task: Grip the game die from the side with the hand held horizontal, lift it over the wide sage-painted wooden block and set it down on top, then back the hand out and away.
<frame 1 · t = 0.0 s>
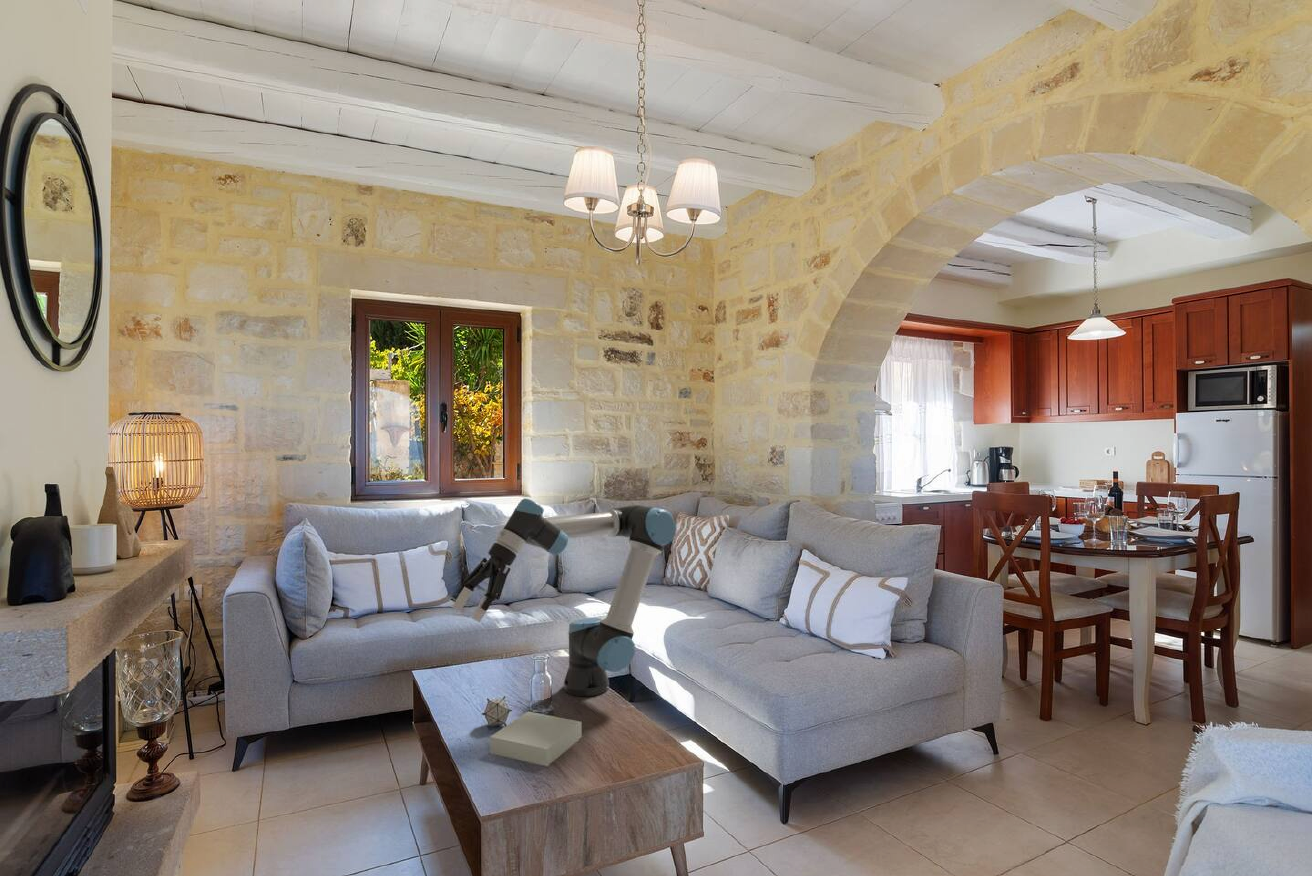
hand: (465, 614, 195), 36 cm above the table, tool tilted 35°, fingers open, 13 cm apart
base block: (537, 747, 194), on the table
game die: (496, 726, 206), on the table
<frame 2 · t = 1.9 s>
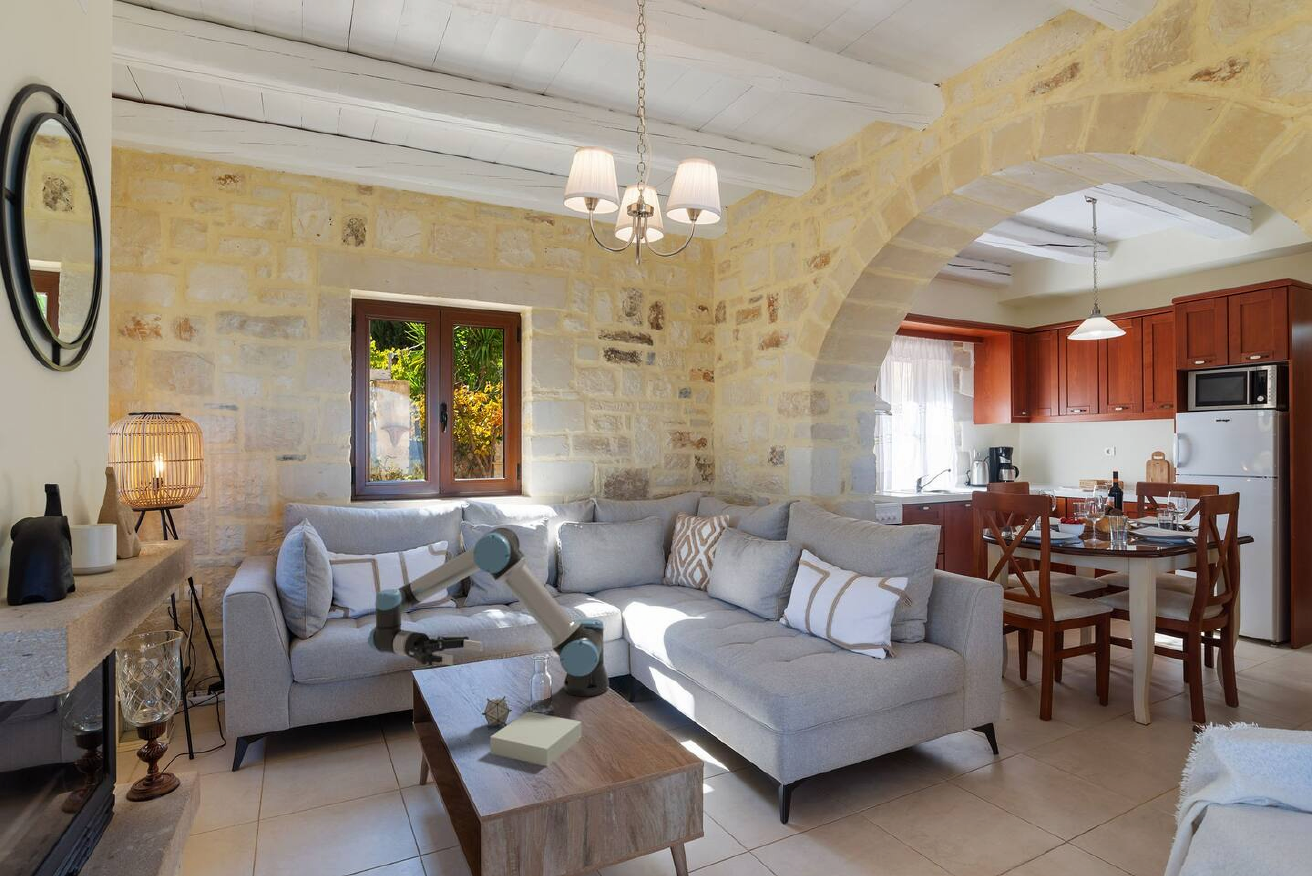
hand: (467, 653, 210), 20 cm above the table, tool horizontal, fingers open, 13 cm apart
nothing on the table moved.
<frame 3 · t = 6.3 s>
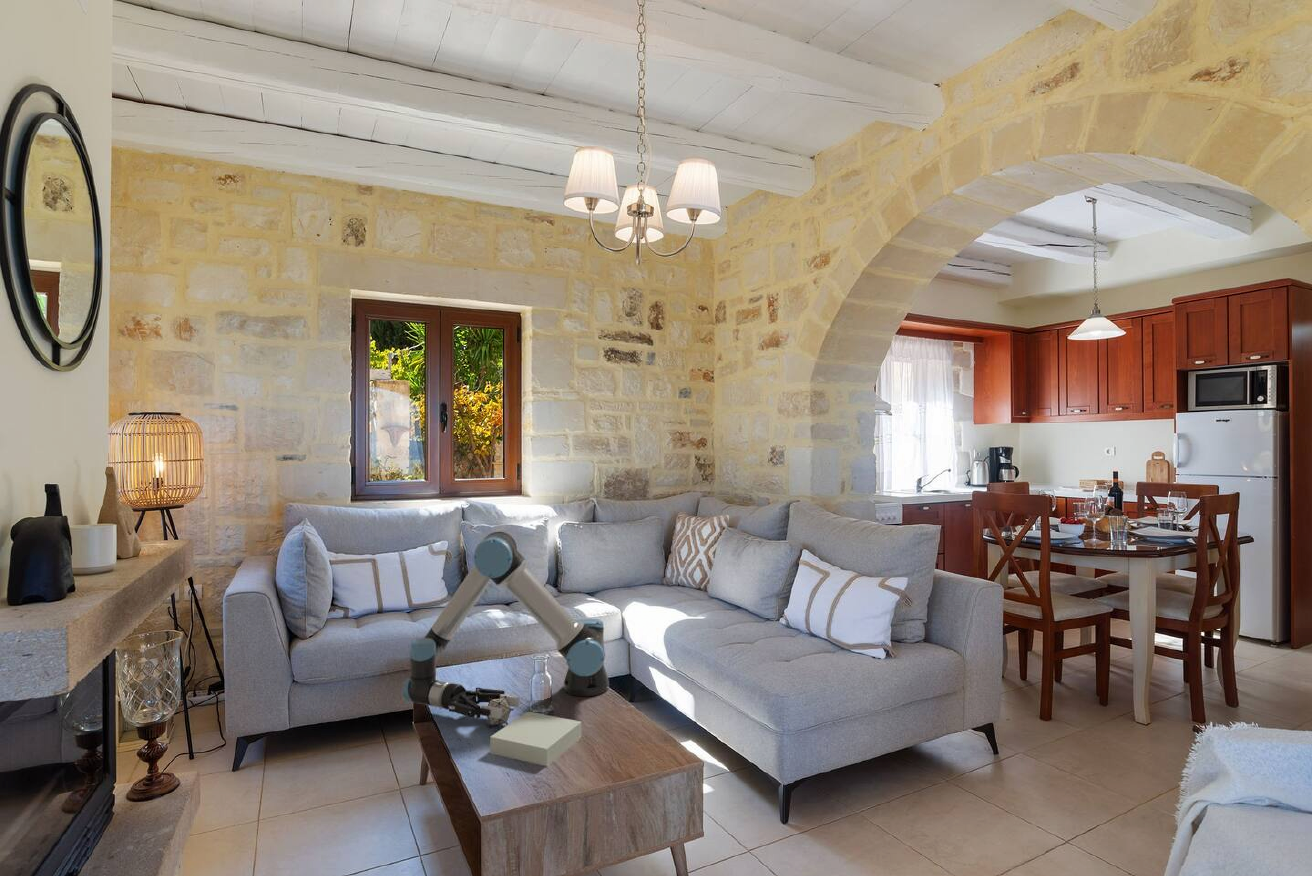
hand: (509, 708, 204), 6 cm above the table, tool horizontal, fingers closed on game die, 8 cm apart
game die: (498, 725, 207), on the table, touching gripper
everything else where it was.
when the fingers open (12 cm above the table, at t = 11.3 s): game die drops 2 cm, resting on base block.
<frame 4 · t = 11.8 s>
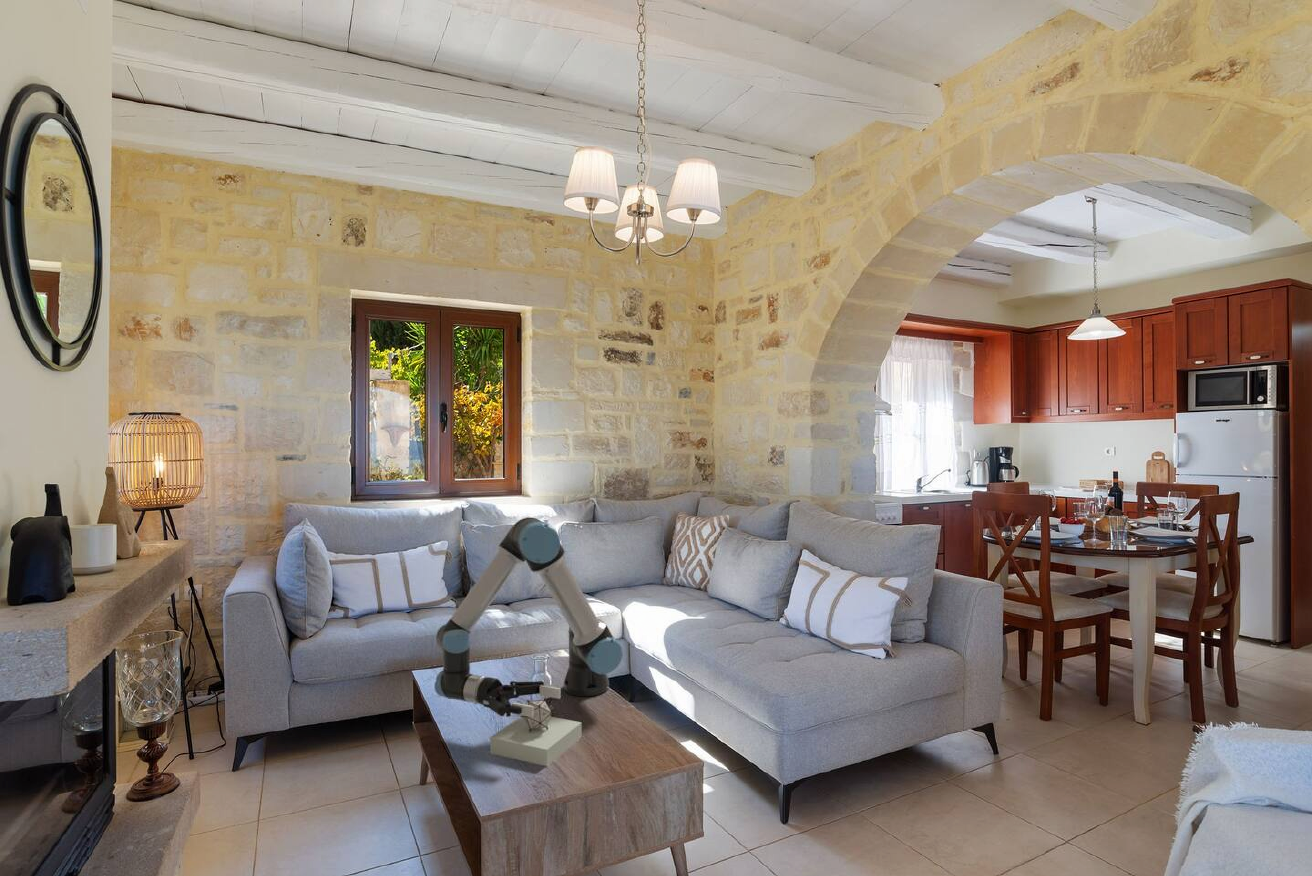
hand: (547, 702, 192), 12 cm above the table, tool horizontal, fingers open, 13 cm apart
base block: (537, 747, 194), on the table, touching game die
game die: (537, 729, 194), point 4 cm above the table, touching base block
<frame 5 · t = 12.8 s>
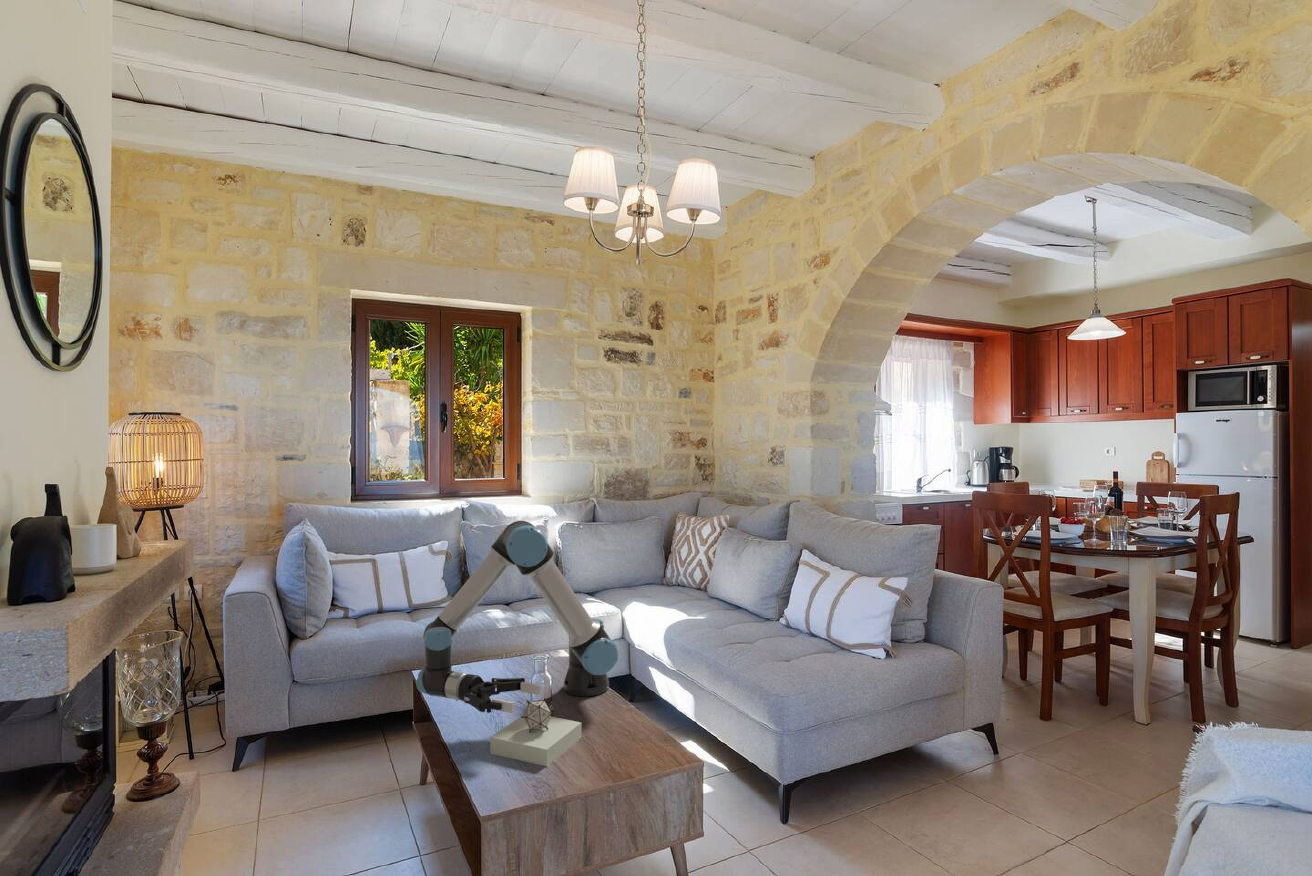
hand: (527, 698, 194), 13 cm above the table, tool horizontal, fingers open, 13 cm apart
base block: (537, 747, 194), on the table
game die: (537, 730, 194), point 4 cm above the table
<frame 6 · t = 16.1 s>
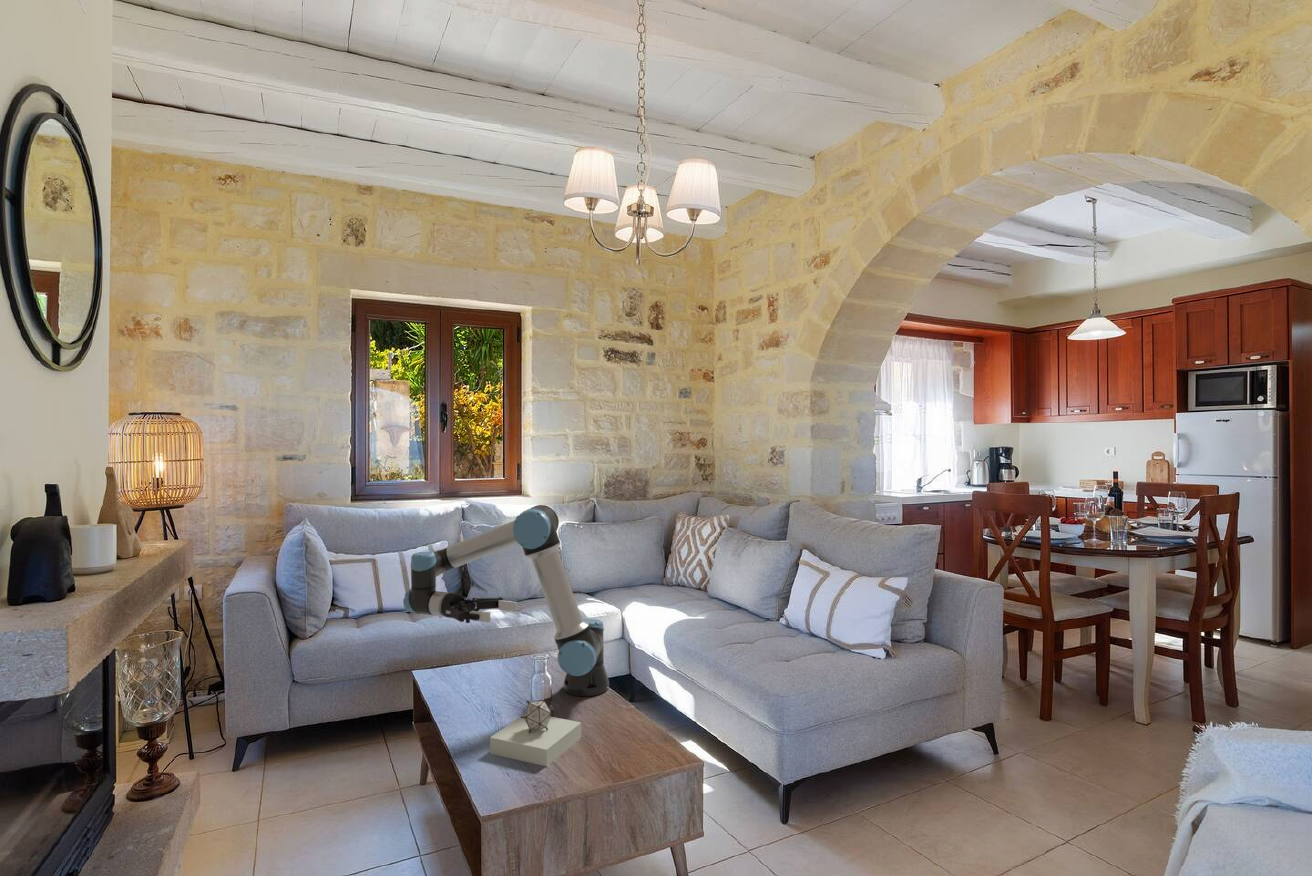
hand: (503, 612, 212), 32 cm above the table, tool horizontal, fingers open, 13 cm apart
base block: (536, 747, 194), on the table, touching game die
game die: (537, 730, 194), point 4 cm above the table, touching base block
at the end: game die inside the target area on the base block (0.3 cm from its centre), point 4.8 cm above the base block's base; game die tilted 0°; the gripper is holding nothing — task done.
